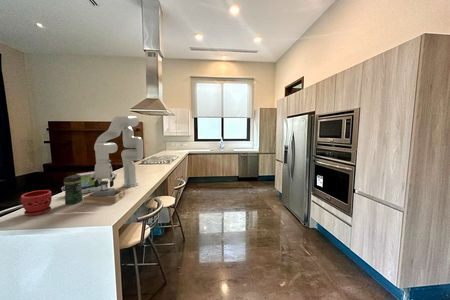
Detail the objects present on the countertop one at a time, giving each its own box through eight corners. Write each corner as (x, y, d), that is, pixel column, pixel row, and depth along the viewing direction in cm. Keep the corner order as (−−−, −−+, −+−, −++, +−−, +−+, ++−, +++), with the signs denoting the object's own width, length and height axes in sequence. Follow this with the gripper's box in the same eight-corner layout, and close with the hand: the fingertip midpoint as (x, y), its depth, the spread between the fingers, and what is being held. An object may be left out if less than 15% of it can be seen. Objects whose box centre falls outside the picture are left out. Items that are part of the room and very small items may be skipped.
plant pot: (16, 217, 115) (13, 196, 114) (40, 208, 128) (38, 189, 127) (36, 218, 113) (34, 197, 112) (58, 209, 126) (57, 190, 125)
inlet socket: (102, 198, 144) (101, 188, 143) (115, 197, 144) (114, 188, 144) (94, 202, 135) (93, 192, 134) (108, 202, 136) (108, 191, 135)
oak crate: (96, 198, 146) (95, 191, 146) (124, 197, 147) (124, 190, 147) (83, 205, 132) (83, 197, 132) (115, 204, 133) (115, 196, 133)
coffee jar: (75, 205, 132) (73, 177, 130) (62, 205, 132) (60, 177, 130) (85, 200, 142) (83, 173, 140) (73, 200, 141) (71, 174, 140)
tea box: (81, 194, 155) (80, 175, 154) (77, 192, 161) (75, 173, 160) (103, 189, 167) (101, 171, 166) (97, 187, 173) (96, 170, 172)
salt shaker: (103, 194, 142) (102, 180, 141) (110, 194, 142) (109, 180, 141) (99, 196, 137) (98, 182, 136) (106, 196, 137) (105, 182, 136)
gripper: (118, 160, 141) (119, 185, 143) (92, 161, 141) (94, 185, 142) (113, 162, 134) (114, 187, 136) (85, 162, 133) (87, 188, 135)
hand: (104, 186), depth 139 cm, fingers open, 9 cm apart
